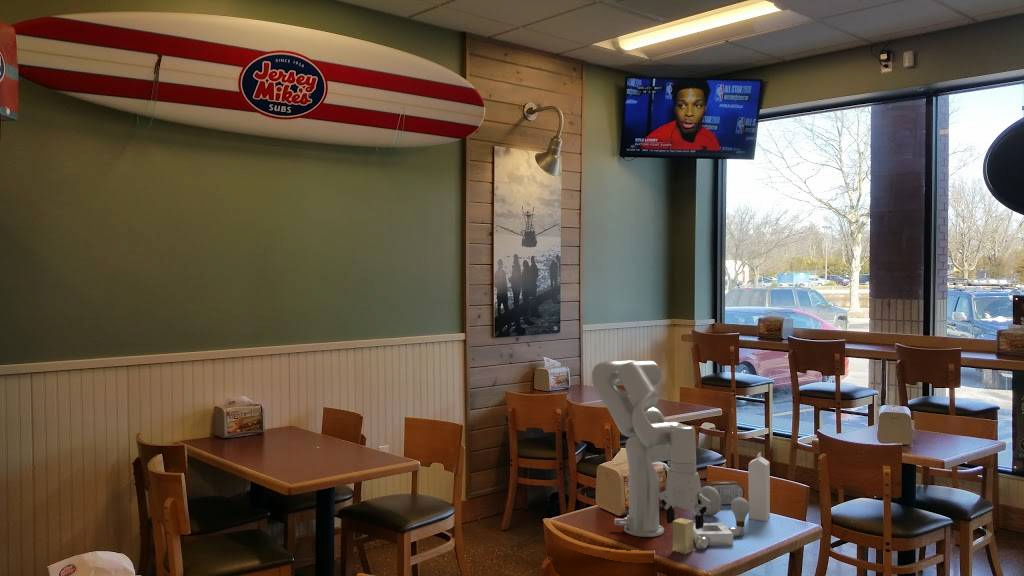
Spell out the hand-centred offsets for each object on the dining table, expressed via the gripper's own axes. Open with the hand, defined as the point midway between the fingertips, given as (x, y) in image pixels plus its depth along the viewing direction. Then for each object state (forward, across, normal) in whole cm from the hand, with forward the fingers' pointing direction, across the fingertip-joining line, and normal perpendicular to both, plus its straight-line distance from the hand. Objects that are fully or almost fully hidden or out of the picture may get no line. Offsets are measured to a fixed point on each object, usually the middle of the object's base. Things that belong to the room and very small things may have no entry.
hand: (684, 525), depth 237 cm
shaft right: (+8, +4, +22) cm, 24 cm away
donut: (+7, -14, +39) cm, 42 cm away
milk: (+7, 0, +47) cm, 48 cm away
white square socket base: (+8, 0, +15) cm, 17 cm away
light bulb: (+8, +1, +32) cm, 33 cm away
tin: (+7, -17, +54) cm, 57 cm away
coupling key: (+8, -1, 0) cm, 8 cm away
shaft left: (+8, +2, +8) cm, 11 cm away
